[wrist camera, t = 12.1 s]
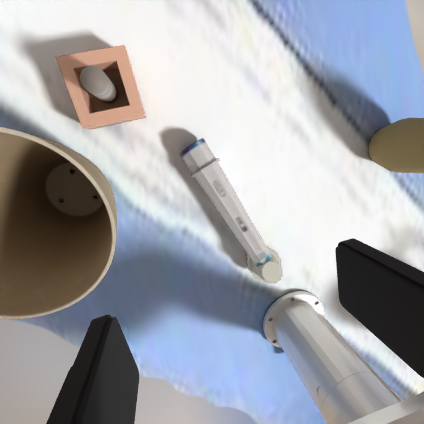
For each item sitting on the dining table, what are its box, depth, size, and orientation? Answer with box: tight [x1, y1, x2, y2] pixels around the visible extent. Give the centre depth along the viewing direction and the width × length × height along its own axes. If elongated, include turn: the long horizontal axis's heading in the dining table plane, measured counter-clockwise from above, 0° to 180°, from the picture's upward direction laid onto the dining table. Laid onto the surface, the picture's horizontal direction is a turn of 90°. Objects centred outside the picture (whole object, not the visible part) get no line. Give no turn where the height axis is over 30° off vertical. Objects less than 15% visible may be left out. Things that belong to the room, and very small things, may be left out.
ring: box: [56, 45, 146, 129], centre depth 27 cm, size 7×7×3 cm
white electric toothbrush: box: [180, 138, 282, 283], centre depth 36 cm, size 5×7×25 cm
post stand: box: [80, 66, 146, 129], centre depth 26 cm, size 7×7×8 cm
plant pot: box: [0, 127, 117, 319], centre depth 25 cm, size 15×15×16 cm
